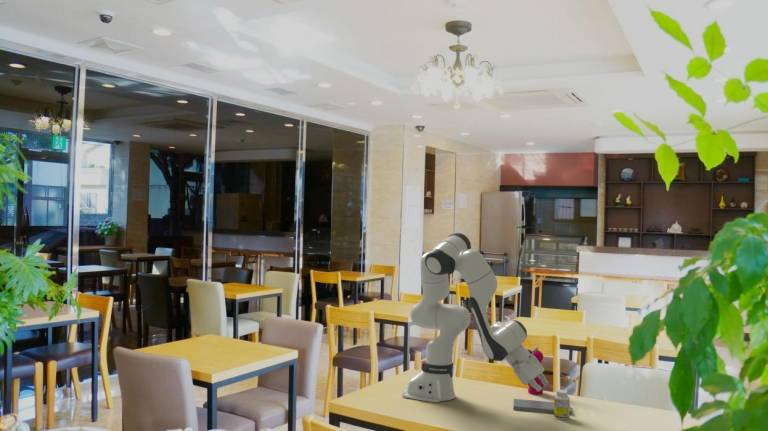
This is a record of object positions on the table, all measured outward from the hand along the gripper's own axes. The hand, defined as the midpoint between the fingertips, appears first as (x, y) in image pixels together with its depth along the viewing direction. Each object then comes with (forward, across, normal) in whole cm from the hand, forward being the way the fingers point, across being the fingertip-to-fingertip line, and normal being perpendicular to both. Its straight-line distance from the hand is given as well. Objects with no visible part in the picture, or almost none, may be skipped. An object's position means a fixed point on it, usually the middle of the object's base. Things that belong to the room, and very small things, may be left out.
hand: (543, 387), depth 229 cm
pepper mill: (0, +28, +15) cm, 32 cm away
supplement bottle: (+12, +1, +3) cm, 13 cm away
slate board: (+6, +8, +10) cm, 14 cm away
